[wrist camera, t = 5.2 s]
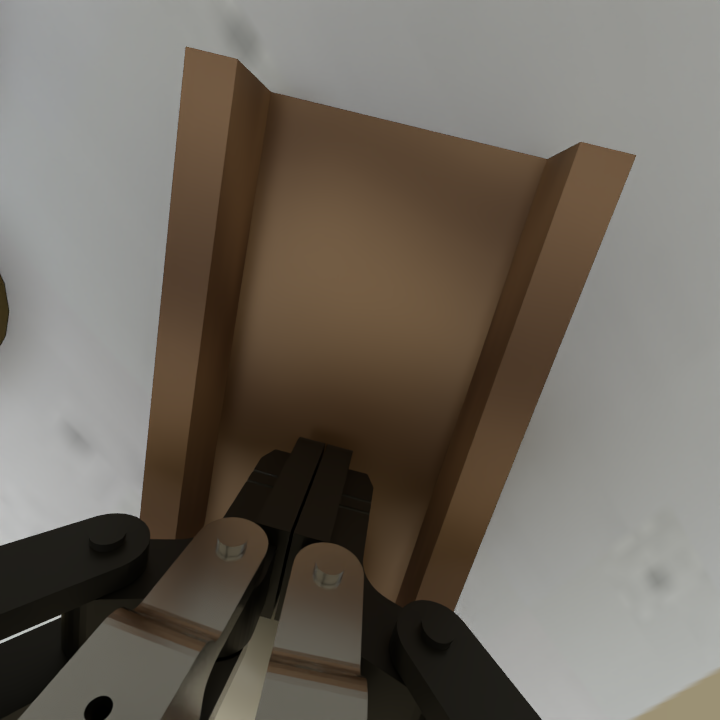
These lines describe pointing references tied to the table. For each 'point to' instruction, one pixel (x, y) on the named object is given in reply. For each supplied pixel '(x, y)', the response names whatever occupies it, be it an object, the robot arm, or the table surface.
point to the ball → (250, 674)
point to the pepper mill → (3, 311)
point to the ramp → (360, 312)
